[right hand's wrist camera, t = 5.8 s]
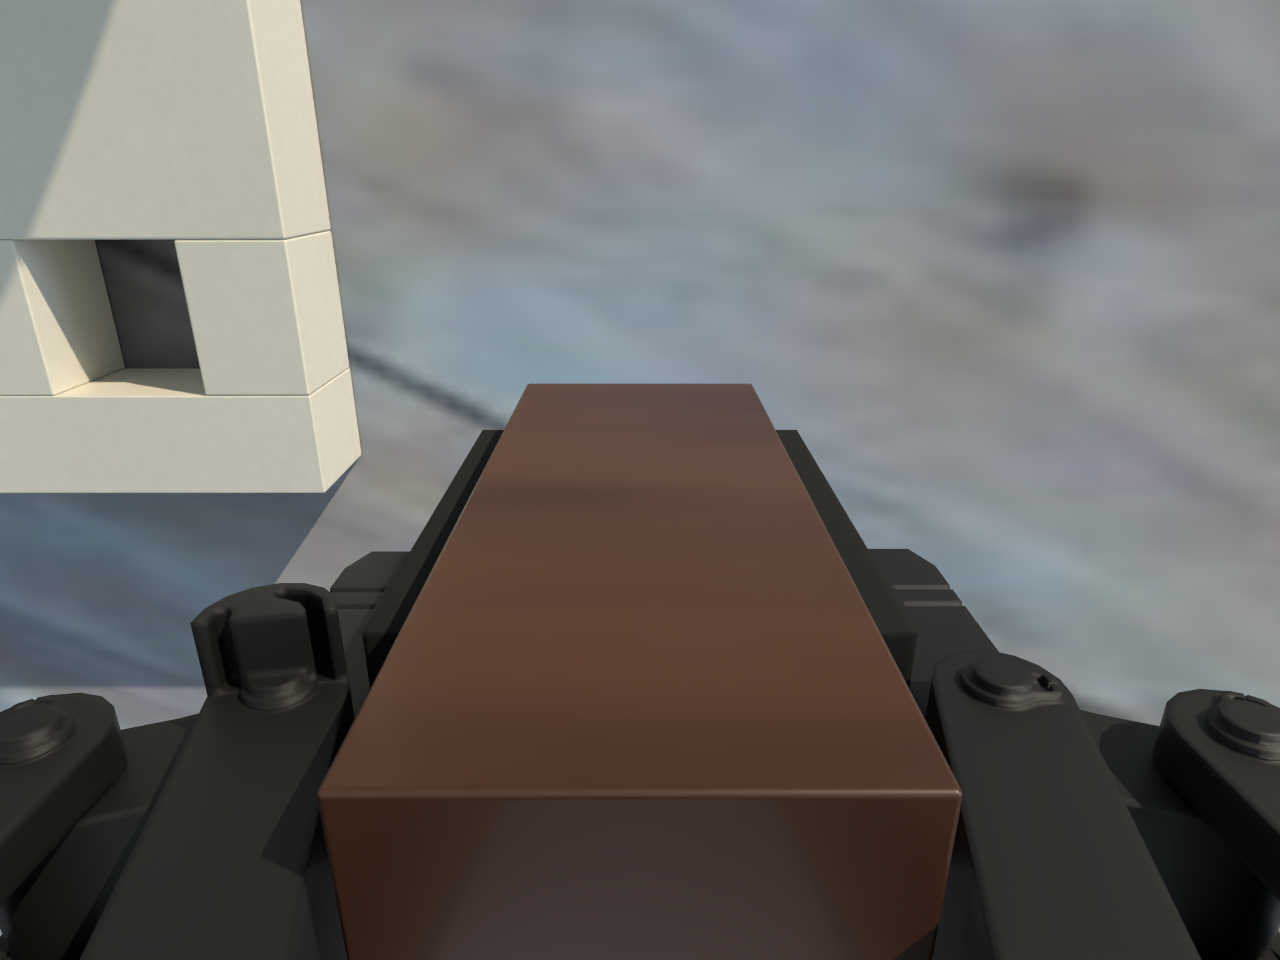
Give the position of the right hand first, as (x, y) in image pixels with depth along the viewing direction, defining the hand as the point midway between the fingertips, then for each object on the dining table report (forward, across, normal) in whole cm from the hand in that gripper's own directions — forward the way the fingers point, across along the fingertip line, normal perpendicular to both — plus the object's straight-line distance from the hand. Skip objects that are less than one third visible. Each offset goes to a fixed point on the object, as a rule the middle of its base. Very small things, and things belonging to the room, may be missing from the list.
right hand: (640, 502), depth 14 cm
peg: (+1, 0, 0) cm, 1 cm away
